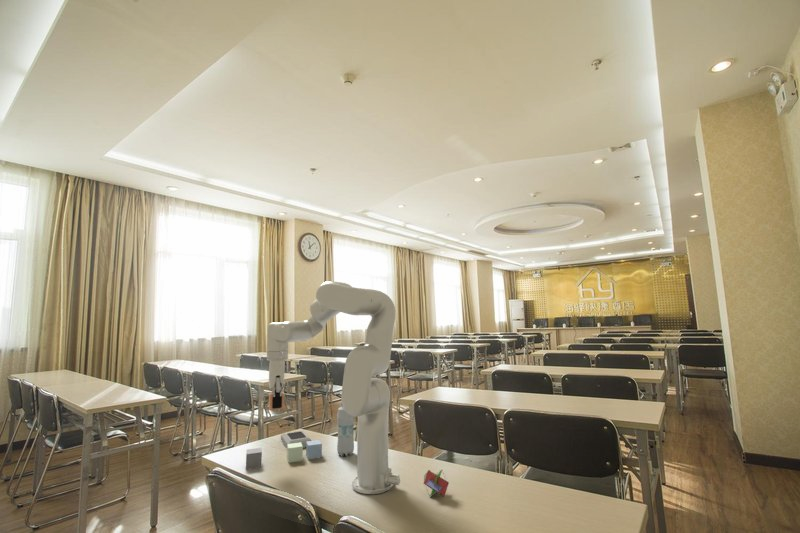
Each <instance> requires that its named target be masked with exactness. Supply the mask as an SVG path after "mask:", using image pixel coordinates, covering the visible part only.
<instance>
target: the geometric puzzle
mask: <svg viewBox="0 0 800 533" xmlns="http://www.w3.org/2000/svg"><path fill="white" fill-rule="evenodd" d="M442 473H443V476H444V478H442V477H441V475H442ZM423 475H424V476H423V485H424V486H426V487H428V488H430V489H431V493H430V494H429V497H430V496H431V495H432V496H431V497H434V496H435V495H436V494H439V493H440V494H439V495H441V496H442V495H443V496H442V497H444V496H446V493H447V490H448V487H449V483H450V482H449V481H447V478H446V475H445V473H444V471H443V469H440V470H439V472H437V473H435V472H432V470H429V469H428V470H427V471H426V473H425V474H423ZM428 488H426V489H425V490H426V491H428ZM435 491H436V492H435Z"/></svg>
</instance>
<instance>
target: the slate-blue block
mask: <svg viewBox="0 0 800 533" xmlns="http://www.w3.org/2000/svg"><path fill="white" fill-rule="evenodd" d="M322 450H323V444H322V442H321V440H320V439H316V440H312V441H307V442H306V448H305V456H307V457H306V459H307V460H308V459H310V460H315V459H314V458H317V459H320V458H319V457H323V456H322V453H323V452H322Z"/></svg>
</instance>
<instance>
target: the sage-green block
mask: <svg viewBox="0 0 800 533" xmlns="http://www.w3.org/2000/svg"><path fill="white" fill-rule="evenodd" d="M303 449H304V448H303V446H302V443H301V442H300V443H292V444H287V449H286V459H287V460H286V461H287V464H290V463H296V462H303V458H304V457H303V453H304V452H303Z"/></svg>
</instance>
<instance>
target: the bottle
mask: <svg viewBox="0 0 800 533" xmlns="http://www.w3.org/2000/svg"><path fill="white" fill-rule="evenodd" d="M336 418H337V420H336V422H337V445H336V447H337V448H336V450H337V454H338V456H341V457H344V455H345V457H348V456H352V455H353V453H354V450H355V440H354V438H355V437H354V422H355V417H353V416H350V415H348V414H347V413H346V412H345V410H344V409H343V406H342V401H341V405H340V407H338V408H337V415H336Z"/></svg>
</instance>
